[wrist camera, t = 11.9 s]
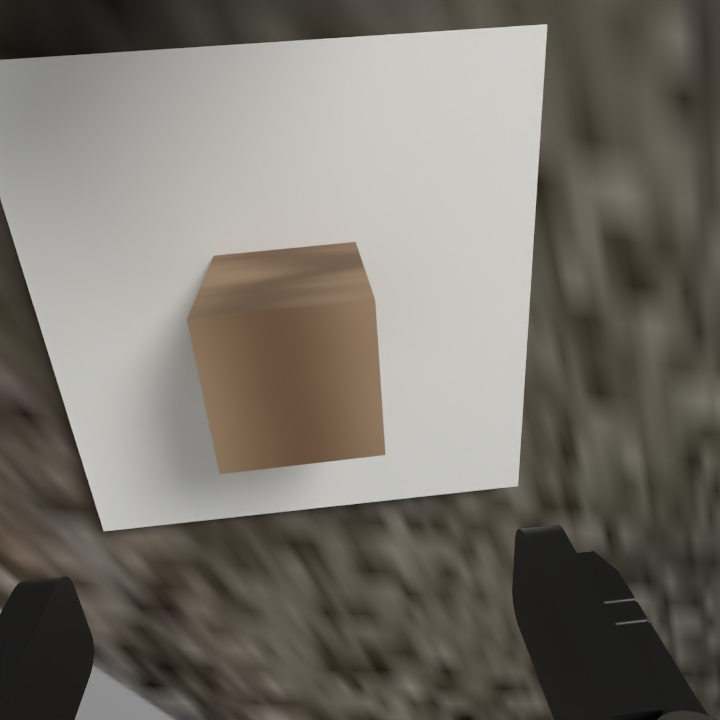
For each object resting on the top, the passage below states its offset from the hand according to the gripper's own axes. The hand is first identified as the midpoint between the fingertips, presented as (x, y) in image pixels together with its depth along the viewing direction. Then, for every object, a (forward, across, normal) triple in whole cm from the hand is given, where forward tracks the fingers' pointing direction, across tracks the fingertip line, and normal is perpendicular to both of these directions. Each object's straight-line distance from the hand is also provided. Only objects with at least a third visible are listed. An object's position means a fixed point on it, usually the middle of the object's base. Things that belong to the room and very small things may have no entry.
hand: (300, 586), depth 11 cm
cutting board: (+14, 0, 0) cm, 14 cm away
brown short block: (+13, 0, 0) cm, 13 cm away
